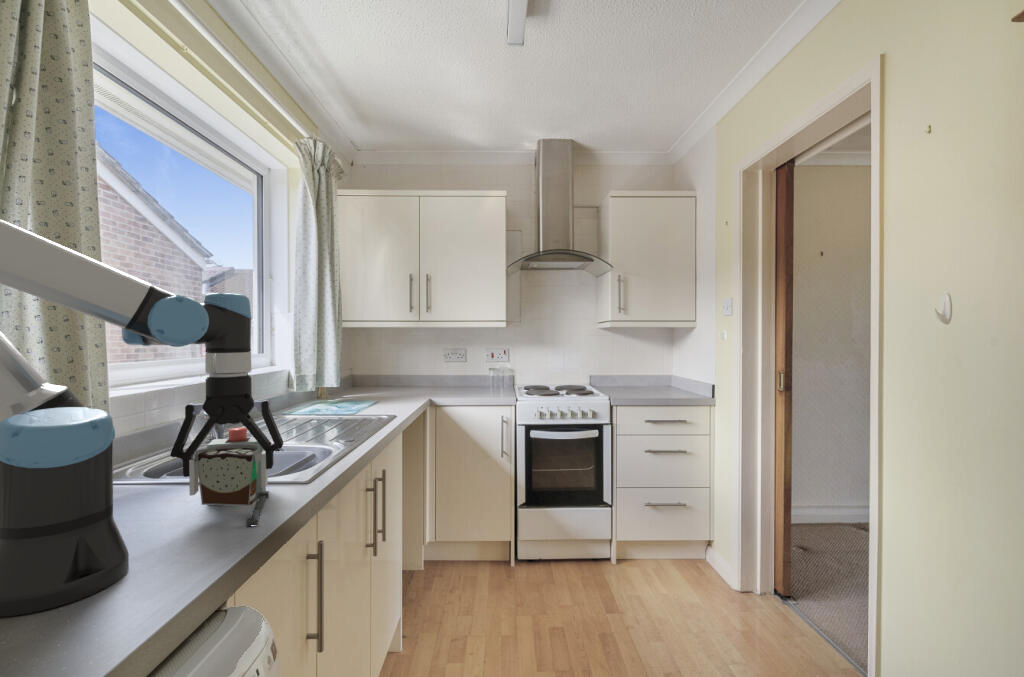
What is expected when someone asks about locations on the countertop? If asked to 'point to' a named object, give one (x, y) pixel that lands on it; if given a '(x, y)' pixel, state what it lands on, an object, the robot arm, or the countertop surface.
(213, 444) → the cabinet
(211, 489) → the food container
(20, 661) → the countertop surface
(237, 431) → the button
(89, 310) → the robot arm
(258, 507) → the guide rail
